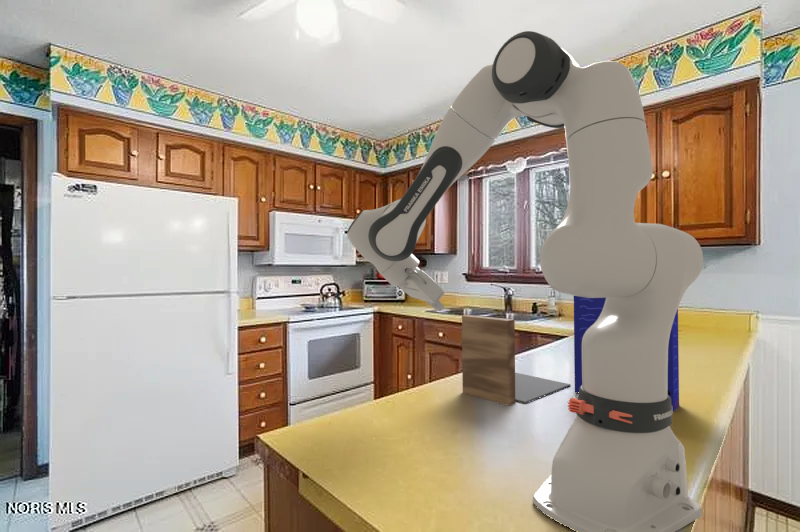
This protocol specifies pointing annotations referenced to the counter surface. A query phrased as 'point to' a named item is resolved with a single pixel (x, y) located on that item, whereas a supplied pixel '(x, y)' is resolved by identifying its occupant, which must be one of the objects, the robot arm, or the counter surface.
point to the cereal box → (588, 315)
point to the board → (489, 358)
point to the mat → (534, 387)
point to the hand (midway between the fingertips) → (440, 308)
